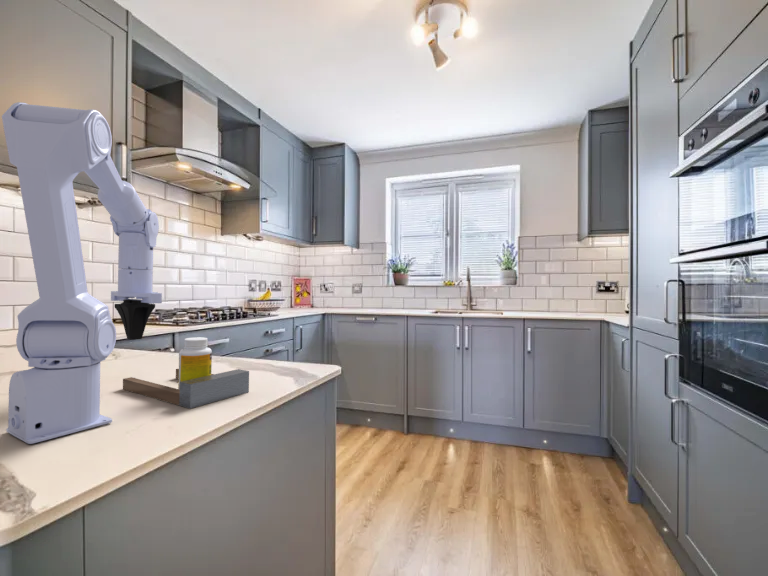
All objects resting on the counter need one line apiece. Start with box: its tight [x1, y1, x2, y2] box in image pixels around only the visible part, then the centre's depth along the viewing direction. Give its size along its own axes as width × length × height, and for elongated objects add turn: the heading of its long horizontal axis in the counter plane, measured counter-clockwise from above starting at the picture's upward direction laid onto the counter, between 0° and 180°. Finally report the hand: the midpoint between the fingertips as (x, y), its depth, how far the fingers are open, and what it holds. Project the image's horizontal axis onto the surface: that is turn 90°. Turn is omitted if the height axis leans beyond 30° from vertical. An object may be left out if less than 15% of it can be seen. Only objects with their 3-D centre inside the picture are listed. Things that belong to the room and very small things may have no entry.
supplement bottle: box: [177, 336, 213, 390], centre depth 72 cm, size 6×6×10 cm
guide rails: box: [122, 368, 215, 406], centre depth 74 cm, size 12×18×2 cm, turn 60°
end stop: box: [178, 368, 250, 409], centre depth 69 cm, size 12×3×4 cm, turn 150°
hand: (134, 339), depth 75 cm, fingers closed
